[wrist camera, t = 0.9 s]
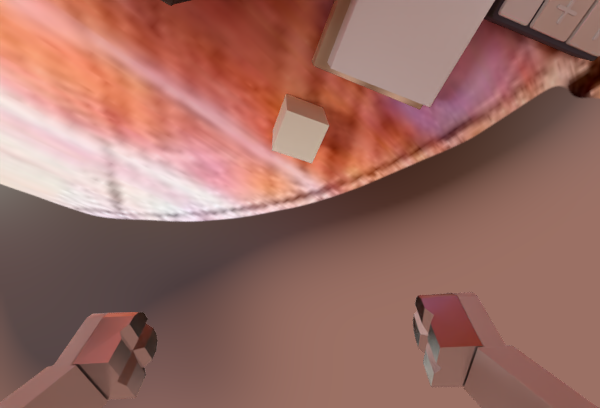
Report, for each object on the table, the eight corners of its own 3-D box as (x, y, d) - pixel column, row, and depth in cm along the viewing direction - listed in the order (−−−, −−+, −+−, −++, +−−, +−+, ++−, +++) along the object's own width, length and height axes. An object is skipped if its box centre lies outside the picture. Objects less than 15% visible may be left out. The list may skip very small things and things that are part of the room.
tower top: (327, 62, 34) (330, 68, 32) (380, -76, 28) (389, -81, 25) (420, 98, 37) (429, 107, 35) (487, -18, 31) (505, -18, 28)
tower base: (311, 60, 37) (313, 65, 34) (368, -91, 29) (376, -98, 27) (411, 101, 40) (420, 109, 38) (484, -24, 33) (501, -25, 30)
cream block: (272, 129, 41) (271, 150, 36) (286, 93, 38) (286, 110, 33) (308, 142, 42) (312, 163, 37) (323, 107, 40) (329, 125, 35)
